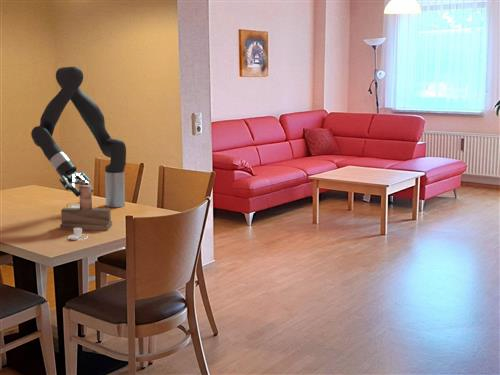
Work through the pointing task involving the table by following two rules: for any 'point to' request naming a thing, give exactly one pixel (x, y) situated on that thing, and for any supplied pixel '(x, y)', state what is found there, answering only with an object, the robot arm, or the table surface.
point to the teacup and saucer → (76, 234)
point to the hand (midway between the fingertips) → (85, 193)
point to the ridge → (86, 219)
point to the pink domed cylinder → (85, 197)
